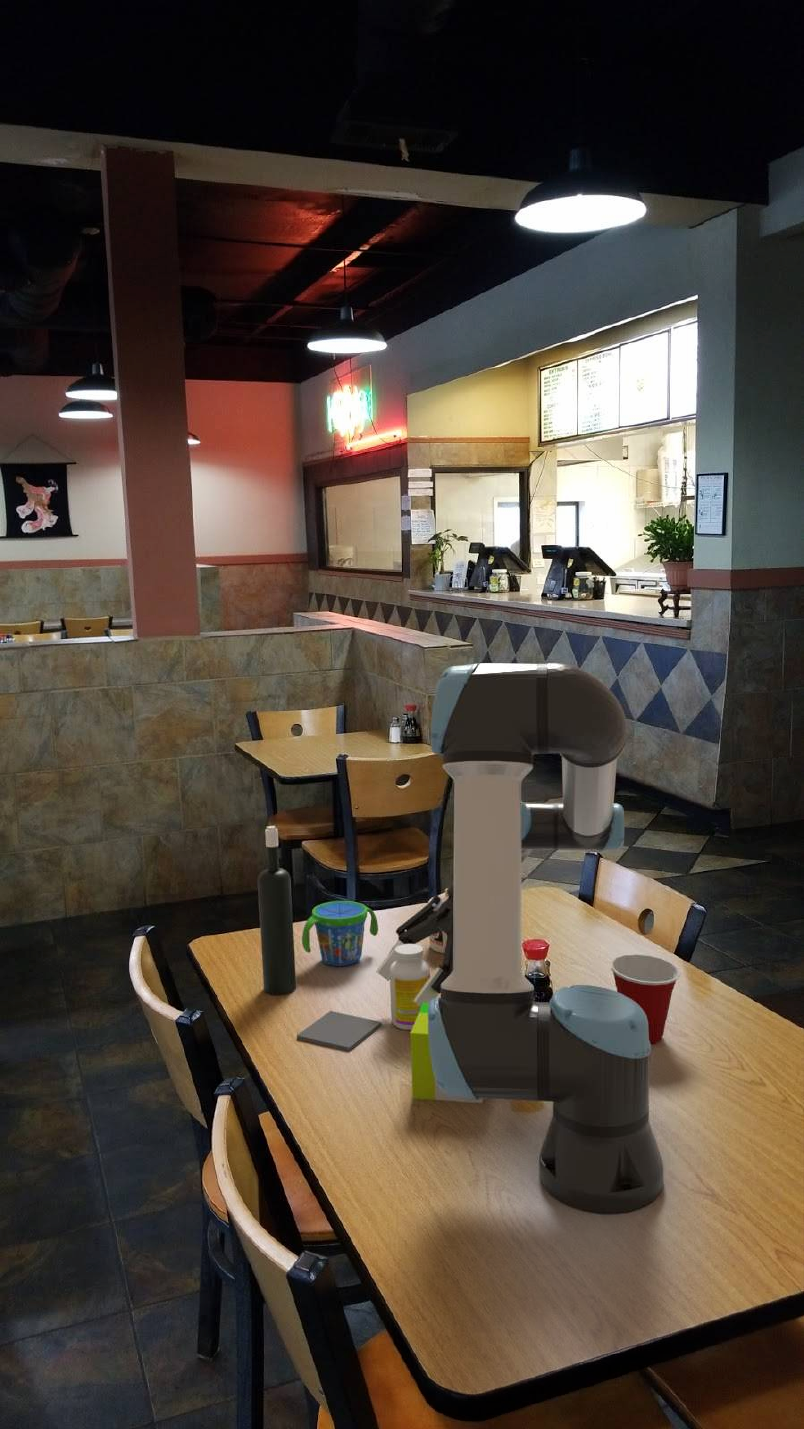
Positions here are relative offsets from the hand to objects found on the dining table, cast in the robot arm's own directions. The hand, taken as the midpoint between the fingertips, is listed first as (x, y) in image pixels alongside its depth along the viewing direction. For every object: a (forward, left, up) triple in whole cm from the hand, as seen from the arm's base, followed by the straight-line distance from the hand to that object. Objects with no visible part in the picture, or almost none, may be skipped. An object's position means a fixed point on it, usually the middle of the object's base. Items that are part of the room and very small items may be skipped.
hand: (400, 990), depth 177 cm
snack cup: (+19, +24, -6) cm, 31 cm away
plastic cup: (+12, -37, -6) cm, 40 cm away
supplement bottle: (+1, -1, -6) cm, 6 cm away
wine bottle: (+3, +27, -6) cm, 28 cm away
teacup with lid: (+33, +7, -6) cm, 35 cm away
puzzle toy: (-14, -16, -6) cm, 22 cm away
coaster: (-7, +8, -6) cm, 12 cm away
